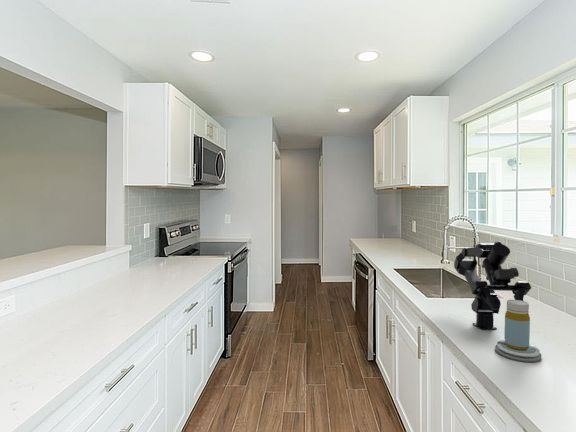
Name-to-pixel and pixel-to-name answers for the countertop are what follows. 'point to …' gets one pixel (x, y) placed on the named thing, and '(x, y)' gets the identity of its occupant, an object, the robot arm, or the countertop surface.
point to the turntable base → (520, 359)
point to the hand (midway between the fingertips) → (507, 309)
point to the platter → (528, 353)
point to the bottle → (517, 325)
